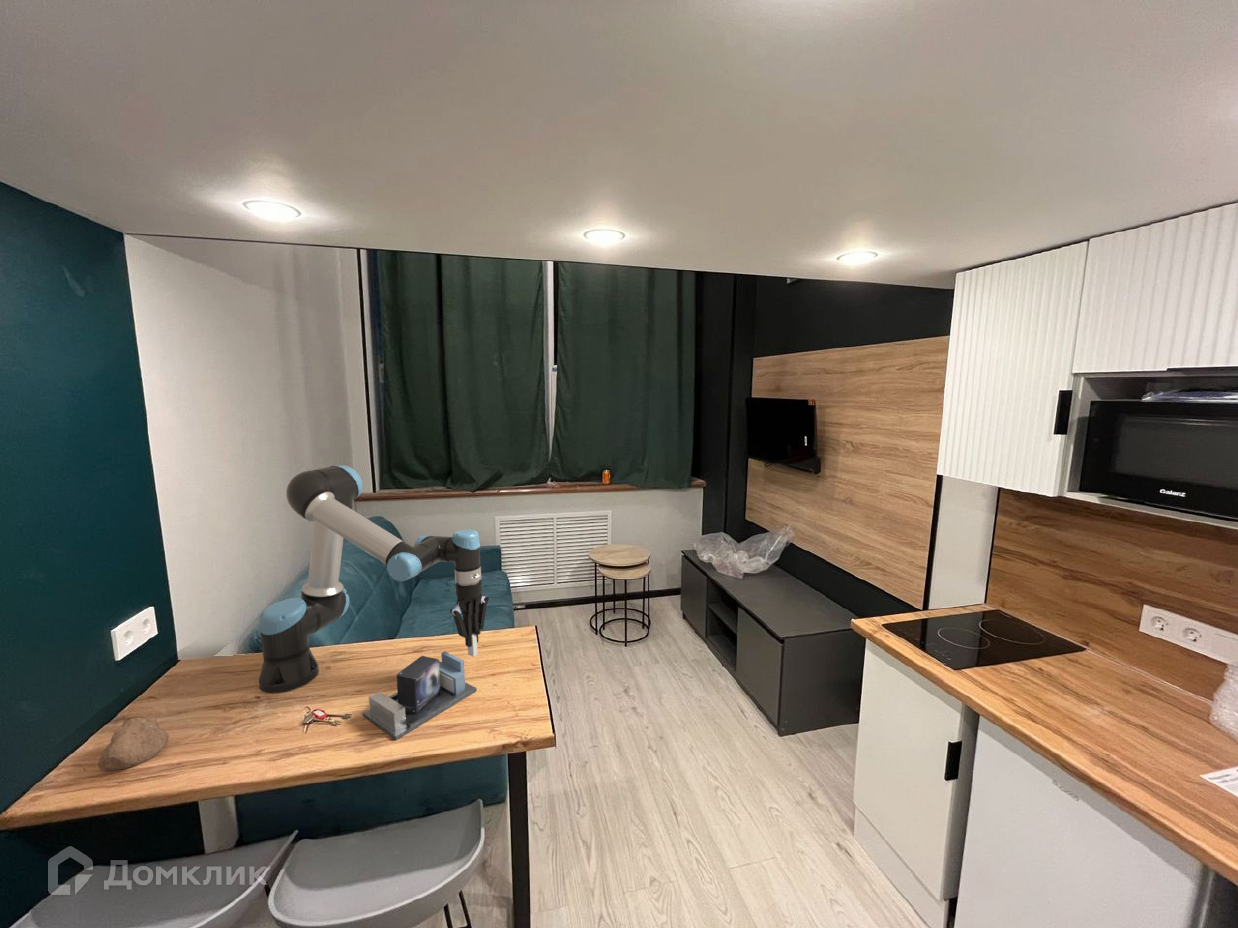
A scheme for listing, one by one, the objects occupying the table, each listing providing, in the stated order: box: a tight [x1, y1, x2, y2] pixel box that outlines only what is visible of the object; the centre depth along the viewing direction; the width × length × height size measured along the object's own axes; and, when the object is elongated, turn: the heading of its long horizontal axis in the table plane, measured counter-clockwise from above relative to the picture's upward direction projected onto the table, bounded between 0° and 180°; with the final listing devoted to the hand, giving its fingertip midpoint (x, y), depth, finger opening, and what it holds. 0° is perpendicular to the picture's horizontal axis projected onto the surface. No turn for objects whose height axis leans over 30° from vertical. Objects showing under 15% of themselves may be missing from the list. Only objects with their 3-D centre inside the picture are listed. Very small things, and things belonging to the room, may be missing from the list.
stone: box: [97, 717, 170, 772], centre depth 117 cm, size 12×9×10 cm
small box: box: [396, 655, 440, 714], centre depth 136 cm, size 11×6×10 cm, turn 163°
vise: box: [362, 681, 477, 741], centre depth 137 cm, size 16×25×6 cm, turn 145°
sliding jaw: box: [439, 651, 466, 695], centre depth 144 cm, size 12×5×8 cm, turn 55°
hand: (472, 654), depth 151 cm, fingers closed
